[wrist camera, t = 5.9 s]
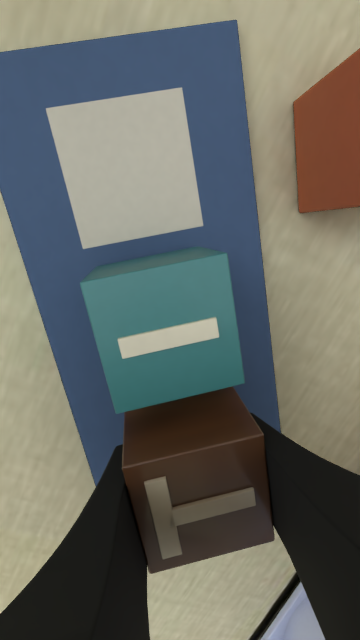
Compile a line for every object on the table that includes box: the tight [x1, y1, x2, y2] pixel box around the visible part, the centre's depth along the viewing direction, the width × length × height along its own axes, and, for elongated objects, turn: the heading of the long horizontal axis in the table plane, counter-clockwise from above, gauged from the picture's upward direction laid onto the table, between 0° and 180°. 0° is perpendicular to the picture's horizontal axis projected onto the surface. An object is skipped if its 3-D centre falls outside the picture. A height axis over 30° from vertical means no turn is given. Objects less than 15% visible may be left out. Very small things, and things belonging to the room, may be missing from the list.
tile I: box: [80, 246, 245, 414], centre depth 11 cm, size 4×4×4 cm
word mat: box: [0, 20, 281, 486], centre depth 13 cm, size 18×9×1 cm, turn 11°
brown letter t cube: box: [122, 386, 274, 574], centre depth 11 cm, size 4×4×4 cm
